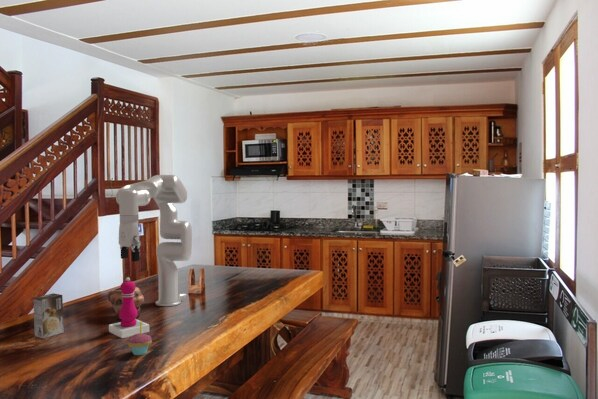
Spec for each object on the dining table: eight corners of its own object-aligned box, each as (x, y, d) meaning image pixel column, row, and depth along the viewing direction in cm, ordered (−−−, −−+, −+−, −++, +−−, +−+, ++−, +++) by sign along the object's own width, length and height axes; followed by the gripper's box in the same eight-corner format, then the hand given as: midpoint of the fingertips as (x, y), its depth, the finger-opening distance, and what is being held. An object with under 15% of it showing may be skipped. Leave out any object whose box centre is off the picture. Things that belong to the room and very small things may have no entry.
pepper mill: (131, 328, 205) (130, 279, 204) (115, 327, 206) (114, 278, 205) (141, 323, 212) (140, 276, 211) (125, 322, 213) (124, 275, 212)
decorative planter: (98, 319, 229) (97, 288, 228) (115, 312, 241) (114, 283, 240) (136, 322, 223) (136, 291, 223) (151, 315, 235) (151, 285, 234)
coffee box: (55, 330, 212) (54, 292, 211) (64, 332, 209) (63, 294, 208) (33, 336, 204) (32, 297, 204) (43, 338, 201) (41, 299, 200)
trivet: (135, 325, 218) (135, 318, 218) (149, 331, 210) (149, 324, 210) (109, 331, 210) (108, 324, 210) (122, 338, 202) (121, 330, 201)
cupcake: (131, 349, 188) (130, 318, 188) (154, 348, 189) (153, 317, 189) (125, 357, 180) (124, 324, 179) (149, 357, 181) (149, 324, 180)
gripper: (111, 218, 214) (112, 258, 214) (130, 221, 201) (131, 263, 202) (128, 217, 219) (128, 256, 220) (147, 219, 207) (148, 261, 208)
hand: (130, 259), depth 211 cm, fingers open, 9 cm apart
